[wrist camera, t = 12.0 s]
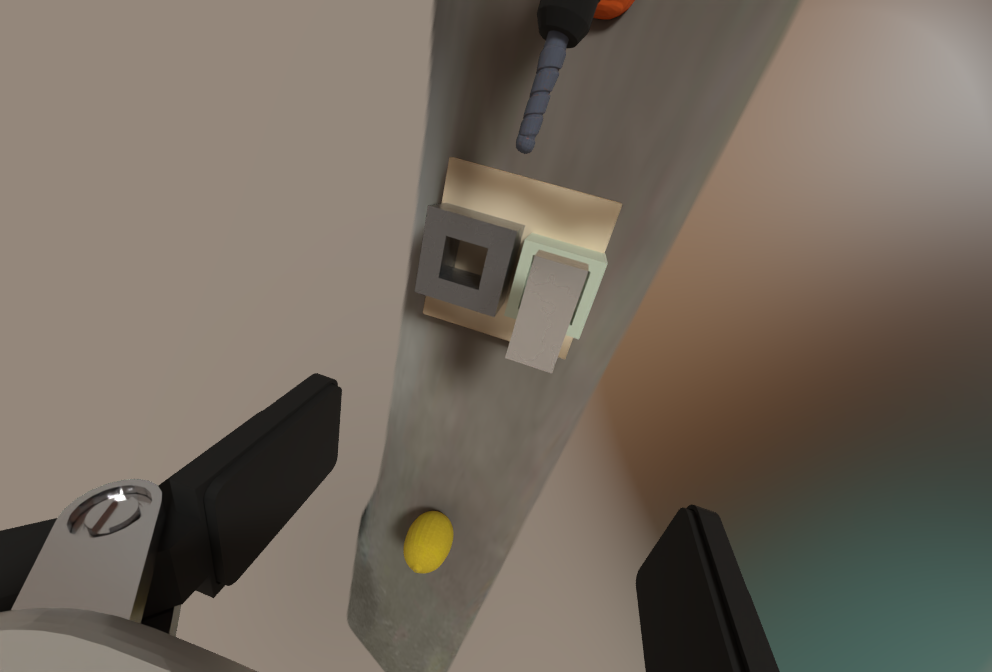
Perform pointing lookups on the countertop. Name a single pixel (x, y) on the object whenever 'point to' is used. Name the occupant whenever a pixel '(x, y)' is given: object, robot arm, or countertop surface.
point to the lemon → (428, 542)
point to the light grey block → (546, 310)
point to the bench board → (541, 214)
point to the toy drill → (559, 52)
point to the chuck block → (441, 251)
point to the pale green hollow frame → (567, 250)
